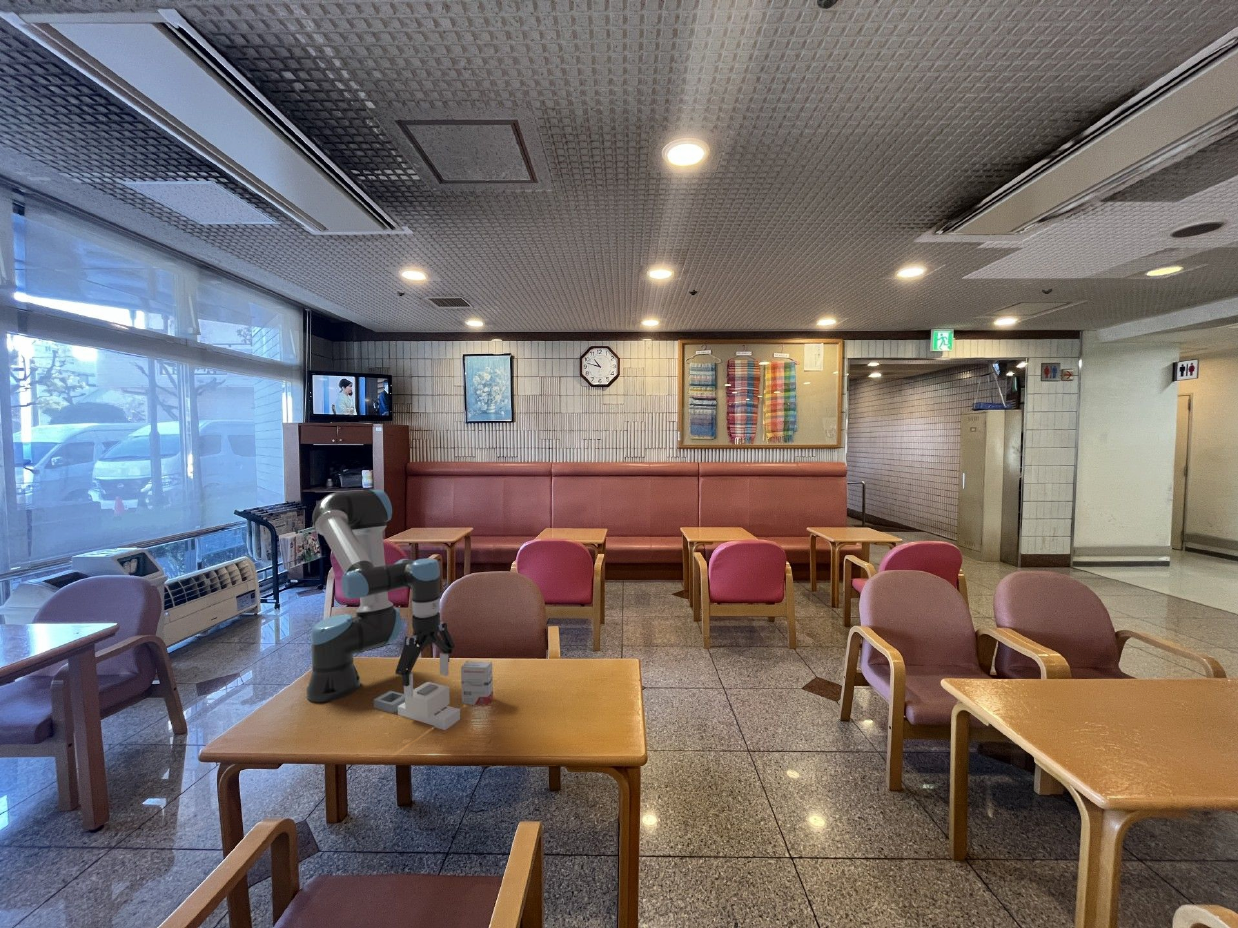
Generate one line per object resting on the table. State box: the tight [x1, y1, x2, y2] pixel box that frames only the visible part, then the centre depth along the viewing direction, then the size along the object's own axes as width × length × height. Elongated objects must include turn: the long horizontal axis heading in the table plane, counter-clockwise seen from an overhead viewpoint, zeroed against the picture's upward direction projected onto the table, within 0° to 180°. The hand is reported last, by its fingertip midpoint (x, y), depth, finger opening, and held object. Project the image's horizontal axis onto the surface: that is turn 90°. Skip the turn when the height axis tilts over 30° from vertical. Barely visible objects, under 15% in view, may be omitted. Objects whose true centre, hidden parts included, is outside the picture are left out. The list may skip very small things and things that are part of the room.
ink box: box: [460, 660, 494, 706], centre depth 153 cm, size 9×5×12 cm, turn 84°
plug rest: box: [373, 690, 405, 714], centre depth 150 cm, size 8×6×3 cm
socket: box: [397, 702, 461, 731], centre depth 144 cm, size 18×6×4 cm, turn 66°
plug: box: [405, 681, 450, 718], centre depth 144 cm, size 8×8×8 cm
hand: (427, 684), depth 144 cm, fingers open, 13 cm apart
